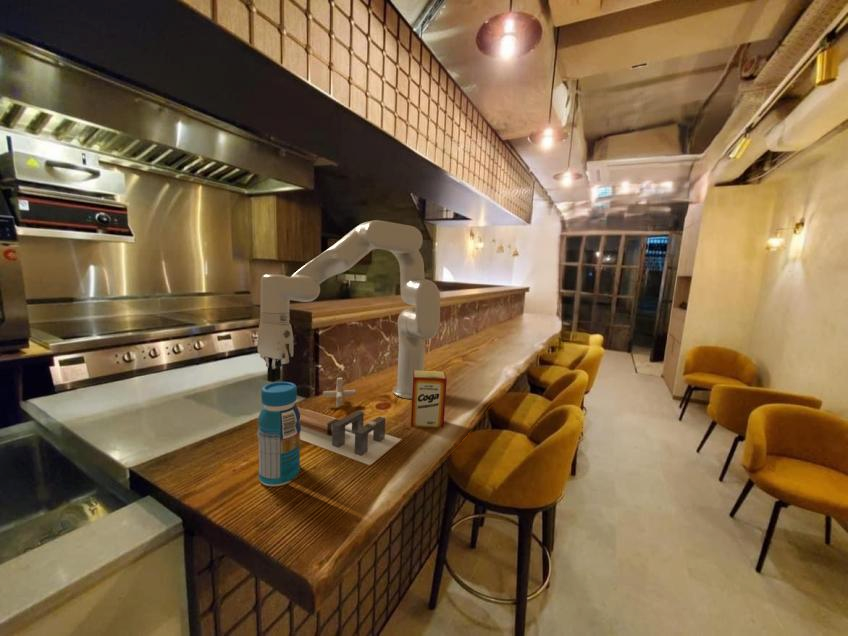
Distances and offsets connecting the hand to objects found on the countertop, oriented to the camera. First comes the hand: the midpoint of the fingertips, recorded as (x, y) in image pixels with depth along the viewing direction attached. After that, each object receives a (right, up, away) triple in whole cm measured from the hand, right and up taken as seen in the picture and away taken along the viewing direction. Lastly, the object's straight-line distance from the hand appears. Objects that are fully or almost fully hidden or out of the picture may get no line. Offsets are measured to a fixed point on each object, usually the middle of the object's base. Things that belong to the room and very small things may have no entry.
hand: (273, 380), depth 97 cm
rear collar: (+24, -13, -10) cm, 29 cm away
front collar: (+30, -14, -13) cm, 36 cm away
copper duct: (+13, -12, -5) cm, 18 cm away
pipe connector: (+16, -11, +10) cm, 22 cm away
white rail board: (+19, -14, -8) cm, 25 cm away
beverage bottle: (+13, -16, -25) cm, 33 cm away
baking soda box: (+45, -14, +2) cm, 47 cm away
